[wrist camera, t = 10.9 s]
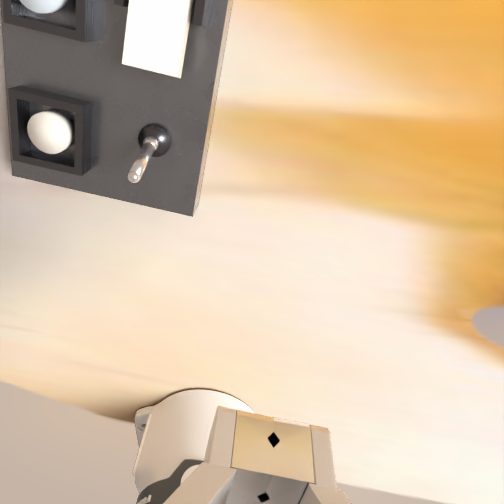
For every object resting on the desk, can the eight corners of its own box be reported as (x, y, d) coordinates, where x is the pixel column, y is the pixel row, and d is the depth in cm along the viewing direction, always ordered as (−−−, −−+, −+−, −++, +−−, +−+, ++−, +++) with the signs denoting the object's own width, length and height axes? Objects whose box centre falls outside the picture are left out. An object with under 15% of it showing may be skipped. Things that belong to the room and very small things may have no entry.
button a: (74, 154, 34) (67, 158, 33) (35, 144, 34) (28, 148, 33) (74, 115, 33) (68, 118, 32) (34, 105, 33) (26, 108, 32)
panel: (198, 203, 40) (186, 230, 34) (30, 165, 39) (-8, 186, 34) (246, -82, 29) (239, -105, 24) (16, -143, 28) (-42, -180, 23)
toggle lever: (160, 147, 34) (140, 188, 30) (145, 144, 34) (124, 184, 30) (160, 135, 33) (140, 175, 29) (145, 131, 33) (123, 172, 29)
